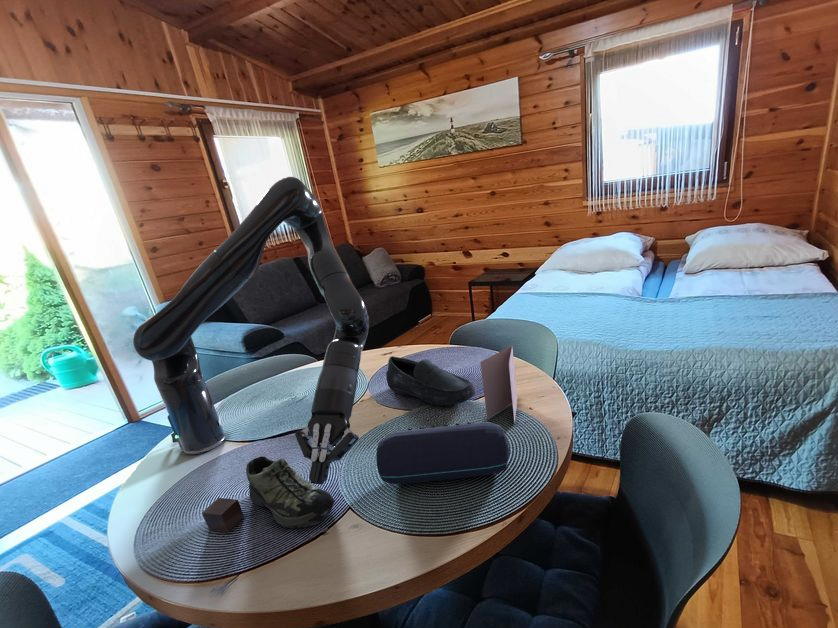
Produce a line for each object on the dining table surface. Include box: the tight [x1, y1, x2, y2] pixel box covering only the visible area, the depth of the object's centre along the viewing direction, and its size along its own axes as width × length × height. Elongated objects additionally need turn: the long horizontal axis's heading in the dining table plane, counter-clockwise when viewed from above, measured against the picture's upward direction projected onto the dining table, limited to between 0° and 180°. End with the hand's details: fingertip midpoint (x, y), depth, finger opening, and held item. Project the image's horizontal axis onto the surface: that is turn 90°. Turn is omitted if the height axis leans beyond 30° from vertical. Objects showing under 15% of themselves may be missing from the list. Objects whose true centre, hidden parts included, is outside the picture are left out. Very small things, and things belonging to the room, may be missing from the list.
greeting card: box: [479, 345, 518, 425], centre depth 101 cm, size 11×7×15 cm, turn 136°
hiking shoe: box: [245, 455, 335, 529], centre depth 80 cm, size 8×21×9 cm, turn 60°
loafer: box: [385, 355, 476, 406], centre depth 116 cm, size 10×29×10 cm, turn 58°
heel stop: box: [201, 497, 245, 533], centre depth 78 cm, size 4×4×4 cm
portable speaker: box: [375, 421, 510, 485], centre depth 83 cm, size 25×10×10 cm, turn 90°
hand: (316, 483), depth 79 cm, fingers closed
